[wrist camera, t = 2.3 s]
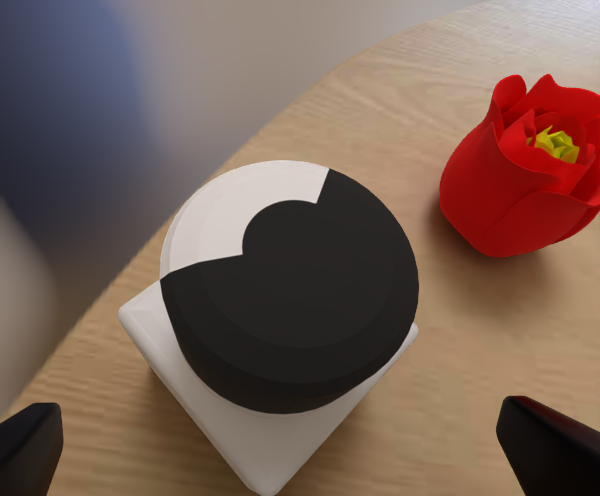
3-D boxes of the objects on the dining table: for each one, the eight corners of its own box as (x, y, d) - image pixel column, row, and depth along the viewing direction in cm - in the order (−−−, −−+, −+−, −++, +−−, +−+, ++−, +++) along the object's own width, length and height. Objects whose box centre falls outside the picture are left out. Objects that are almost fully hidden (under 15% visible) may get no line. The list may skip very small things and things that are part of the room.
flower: (434, 153, 28) (504, 46, 21) (544, 196, 28) (651, 103, 21) (409, 247, 24) (484, 154, 17) (536, 298, 24) (665, 226, 17)
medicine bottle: (364, 373, 20) (513, 265, 10) (252, 494, 17) (295, 525, 7) (265, 270, 22) (301, 86, 12) (147, 363, 19) (52, 226, 8)
